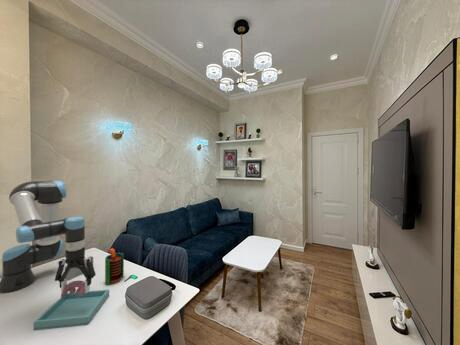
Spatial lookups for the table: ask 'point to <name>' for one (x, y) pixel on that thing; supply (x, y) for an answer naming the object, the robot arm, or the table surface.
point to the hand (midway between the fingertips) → (75, 292)
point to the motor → (114, 267)
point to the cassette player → (75, 271)
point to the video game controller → (71, 288)
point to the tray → (72, 310)
